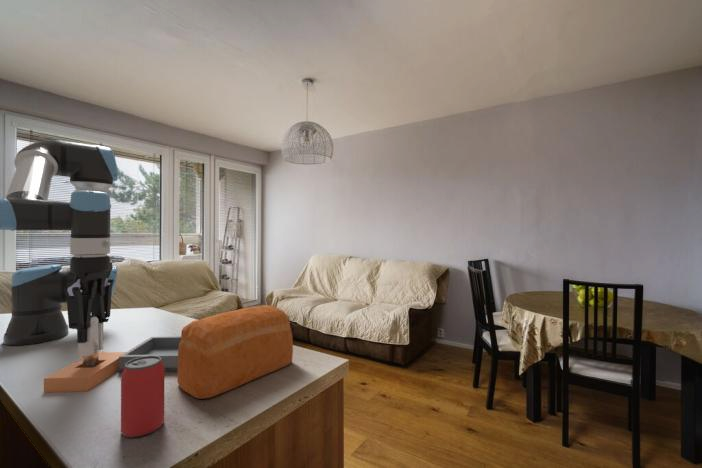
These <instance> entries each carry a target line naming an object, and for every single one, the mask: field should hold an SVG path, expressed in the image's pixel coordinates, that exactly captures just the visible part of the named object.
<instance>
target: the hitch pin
mask: <svg viewBox="0 0 702 468" xmlns="http://www.w3.org/2000/svg"><path fill="white" fill-rule="evenodd" d="M89 327H92V355H91V356H82V358H83V368H93V367H96V366H97V365H99V352H100V350H99V319H98V317H97V316H94V315H91V318H90V326H89Z"/></svg>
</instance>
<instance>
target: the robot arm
mask: <svg viewBox="0 0 702 468" xmlns="http://www.w3.org/2000/svg"><path fill="white" fill-rule="evenodd" d="M13 161H14V162H13V163H14V167H15V171H14V174H13V177H12V180H11V182H10V185H9V187H8V190H7V191H6V195H5V196H2V197H0V230H2V231H12V232H14V231H70V238H69V239H70V240H69V241H70V242H69V243H70V244H69V247H70V248H69V254H70V255H71V256H72V257H71V258H70V261H69V262H70V263H69V267H67V268H63V266H62V265H61V264H59V263H57V264H48V265H47V264H46V265H40V266H33V267H27V268H22V269H19V270H16V271H14V272H13V274H12V275H11V284H10V287H11V316H10V317H11V318H10V321H9V322H8V324H7V325H8V326H7V327H6V331H5V333H4V334H3V345H6V346H25V345H27V346H28V345H34V344H39V343H44V342H49V341H53V340H57V339H60V338H62V337H64V336H66V335H68V334H69V329H72V330H76V337H77V339H76V342H77V356H78V357H83V356H91V355H92V327H89V326H90V318H91V315H94V316H97V317H98V319H99V351H102V350H103V349H104V323H108V321H109V319H110V317H111V307H112V304H111V303H112V296H113V294H114V292H115V288H116V283H117V277H118V276H117V275H118V273H117V272H118V266H117V265H114V264H113V260H111V257H110V256H109V255H108V254H110V253H111V208H112V205H111V204H112V203H111V197H110V194H109V193H108V190H109V189H110V188H111V187H113V186H114V185H113V183H114V182H116V181H118V179H119V178H118V167H117V161H116V155H115V153H114V151H113V149H111V148H110V147H107V146H102V145H97V144H89V143H81V142H74V141H66V140H61V139H48V140H47V139H46V140H41V141H36V142H33V143H31V144H28V145H25V147H22V148H21V150H19V151H18V152H17V153H16V156H15V157H14V160H13ZM54 176H56V177H68V178H69V183H70V184H71V185H72V186H74V187H75V191H72V192H71V194H70V200H54V199H49V197H50V196H49V194H50V189H51V183H52V179H53V177H54ZM65 303H66V305H67V306H66V307H67V320H68V324H67V321H66V319H65V316H64V314H63V312H62V304H65Z"/></svg>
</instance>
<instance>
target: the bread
mask: <svg viewBox="0 0 702 468" xmlns="http://www.w3.org/2000/svg"><path fill="white" fill-rule="evenodd" d="M290 325H291V320H290V316H288V314H286V313H285V312H284V311H283V310H282V309H280V308H278V307H276V306H274V305H270V304H269V305H267V304H264V305H258V306H252V307H244V308H240V309H235V310H230V311H225V312H221V313H217V314H214V315H209V316H206V317H204V318H201V319H197V320H196V319H195V320H193V321H191V322H189V323H188V324H186V325H184V327H182V329H181V333H180V334H181V335H180V336H181V342H180V343H179V349H178V371H177V385H178V386H179V388H180V389H181V390H183V392H186V393H187V394H189V395H190V396H192V397H193V398H195V399H198V400H202V399H210V398H213V397H216V396H217V395H220V394H224V393H226V392H228V391H230V390H233V389H235V388H238V387H240V386H242V385H245V384H247V383H249V382H252V381H254V380H256V379H258V378H261V377H263V376H266V375H268V374H270V373H273V372H275V371H276V372H277V371H278V370H279V369H283V368H285V367H287V366H288V365H290V364H292V363H293V357H294V355H293V353H294V348H293V347H294V346H293V344H294V343H293V339H294V338H293V332H292V327H291V326H290Z"/></svg>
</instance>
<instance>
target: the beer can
mask: <svg viewBox="0 0 702 468" xmlns="http://www.w3.org/2000/svg"><path fill="white" fill-rule="evenodd" d="M164 422H165V372H164V366H163V364H162V362H161V358H160V357H159V356H144V357H139V358H135V359H132V360H130V361H128V362H127V363H126V364H125V368H124V371H123V373H121V378H120V432H121V434H122V435H123V436H124V437H127V438H140V437H144V436H147V435H150V434H151V433H154V432H155V431H157V430H159V428H160V427H161V426H162V425H163V424H164Z"/></svg>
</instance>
